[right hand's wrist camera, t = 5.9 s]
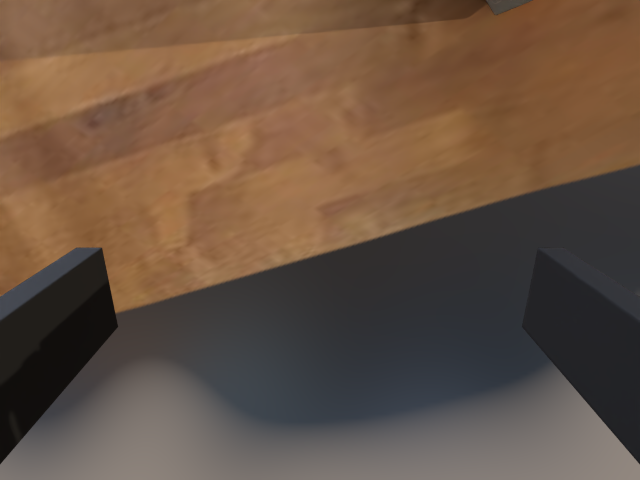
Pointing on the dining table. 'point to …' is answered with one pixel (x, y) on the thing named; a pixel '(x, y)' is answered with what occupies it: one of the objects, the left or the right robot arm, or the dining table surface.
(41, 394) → the right robot arm
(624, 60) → the dining table surface
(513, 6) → the hard drive box
